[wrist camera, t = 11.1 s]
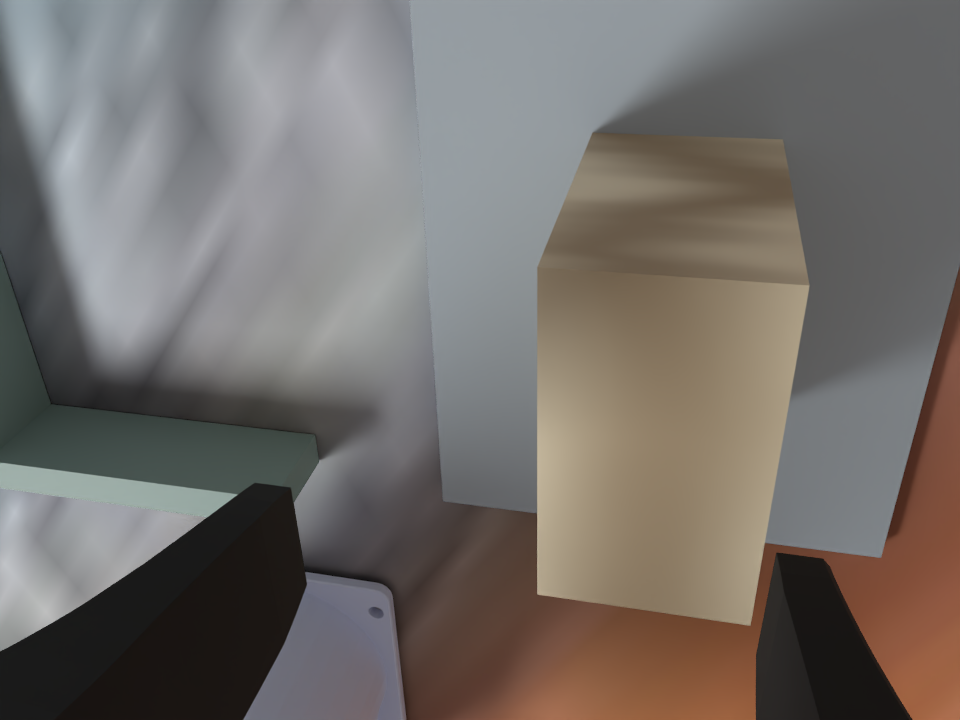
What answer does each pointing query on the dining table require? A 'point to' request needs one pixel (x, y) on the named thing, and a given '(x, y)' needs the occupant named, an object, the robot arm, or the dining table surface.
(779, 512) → the rubber mat
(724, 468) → the block
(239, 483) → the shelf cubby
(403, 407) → the dining table surface
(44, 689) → the robot arm
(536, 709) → the dining table surface
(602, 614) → the dining table surface
